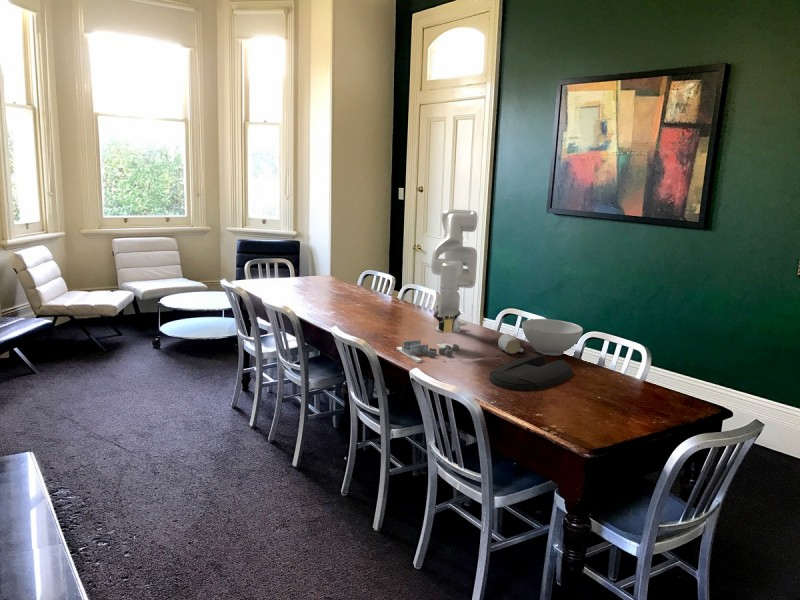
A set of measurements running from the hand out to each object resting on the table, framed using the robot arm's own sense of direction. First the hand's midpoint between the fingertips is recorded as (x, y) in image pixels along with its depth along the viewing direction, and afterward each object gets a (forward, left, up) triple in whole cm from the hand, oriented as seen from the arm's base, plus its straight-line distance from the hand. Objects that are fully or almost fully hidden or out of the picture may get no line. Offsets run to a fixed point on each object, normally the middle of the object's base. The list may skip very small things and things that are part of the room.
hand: (445, 329), depth 276 cm
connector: (0, 0, -1) cm, 1 cm away
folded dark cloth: (-12, +46, -9) cm, 48 cm away
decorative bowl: (-43, +20, -8) cm, 49 cm away
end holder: (+18, +6, -7) cm, 21 cm away
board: (+10, +7, -8) cm, 15 cm away
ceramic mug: (-26, +15, -8) cm, 31 cm away
